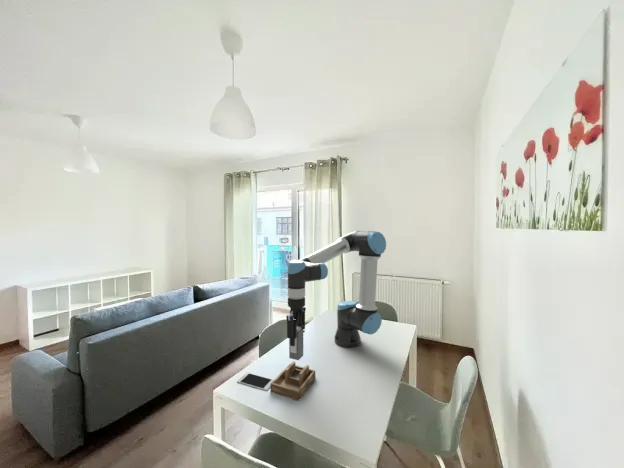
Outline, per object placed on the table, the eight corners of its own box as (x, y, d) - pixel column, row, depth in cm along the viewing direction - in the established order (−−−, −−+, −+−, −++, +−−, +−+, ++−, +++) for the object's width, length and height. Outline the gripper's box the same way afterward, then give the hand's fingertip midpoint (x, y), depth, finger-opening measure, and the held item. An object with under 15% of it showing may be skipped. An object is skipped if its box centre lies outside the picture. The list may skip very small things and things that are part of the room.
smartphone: (267, 392, 106) (266, 389, 106) (236, 383, 112) (236, 381, 112) (275, 382, 113) (275, 380, 113) (246, 374, 119) (246, 372, 119)
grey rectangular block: (294, 353, 115) (294, 324, 115) (303, 355, 113) (303, 326, 113) (289, 358, 111) (289, 328, 111) (298, 360, 109) (298, 330, 109)
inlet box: (290, 371, 120) (289, 358, 120) (315, 378, 115) (315, 365, 114) (270, 391, 106) (270, 377, 105) (298, 400, 100) (298, 386, 100)
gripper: (298, 291, 121) (298, 339, 122) (278, 301, 105) (278, 357, 106) (312, 292, 117) (312, 342, 118) (294, 303, 102) (294, 361, 102)
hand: (296, 349), depth 112 cm, fingers closed on grey rectangular block, 4 cm apart
